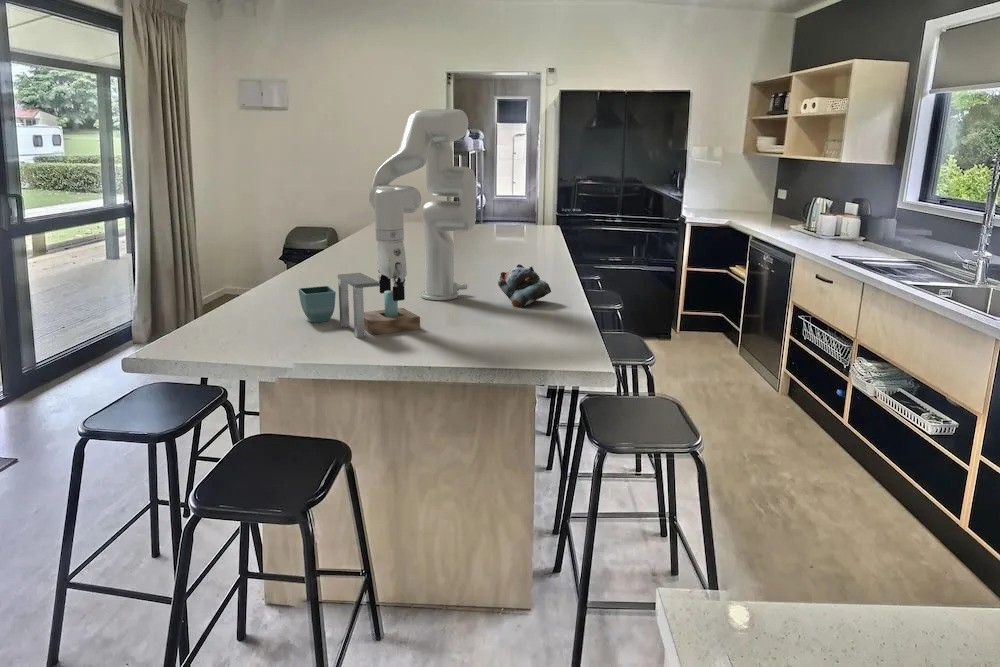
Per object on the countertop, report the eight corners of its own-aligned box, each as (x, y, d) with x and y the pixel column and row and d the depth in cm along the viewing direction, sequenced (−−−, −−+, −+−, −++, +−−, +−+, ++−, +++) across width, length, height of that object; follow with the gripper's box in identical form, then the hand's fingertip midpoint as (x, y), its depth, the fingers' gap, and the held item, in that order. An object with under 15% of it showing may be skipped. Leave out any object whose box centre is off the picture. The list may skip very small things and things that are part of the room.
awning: (361, 322, 203) (360, 272, 199) (381, 335, 191) (379, 282, 187) (339, 325, 200) (337, 274, 196) (357, 338, 188) (356, 284, 184)
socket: (403, 319, 208) (402, 307, 207) (420, 329, 198) (419, 316, 197) (356, 324, 201) (356, 312, 200) (372, 335, 191) (371, 322, 190)
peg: (395, 324, 202) (394, 289, 200) (400, 327, 199) (399, 292, 197) (383, 325, 201) (382, 290, 198) (387, 328, 198) (387, 293, 195)
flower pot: (306, 325, 200) (304, 294, 197) (299, 318, 207) (297, 287, 205) (337, 322, 204) (336, 291, 201) (329, 315, 211) (328, 285, 209)
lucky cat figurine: (517, 309, 222) (499, 268, 222) (505, 316, 234) (488, 277, 234) (558, 292, 227) (540, 252, 227) (544, 299, 239) (528, 261, 239)
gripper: (415, 238, 188) (417, 301, 193) (390, 229, 202) (392, 288, 207) (389, 241, 184) (391, 305, 190) (365, 231, 199) (368, 291, 204)
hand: (392, 296), depth 198 cm, fingers open, 9 cm apart
